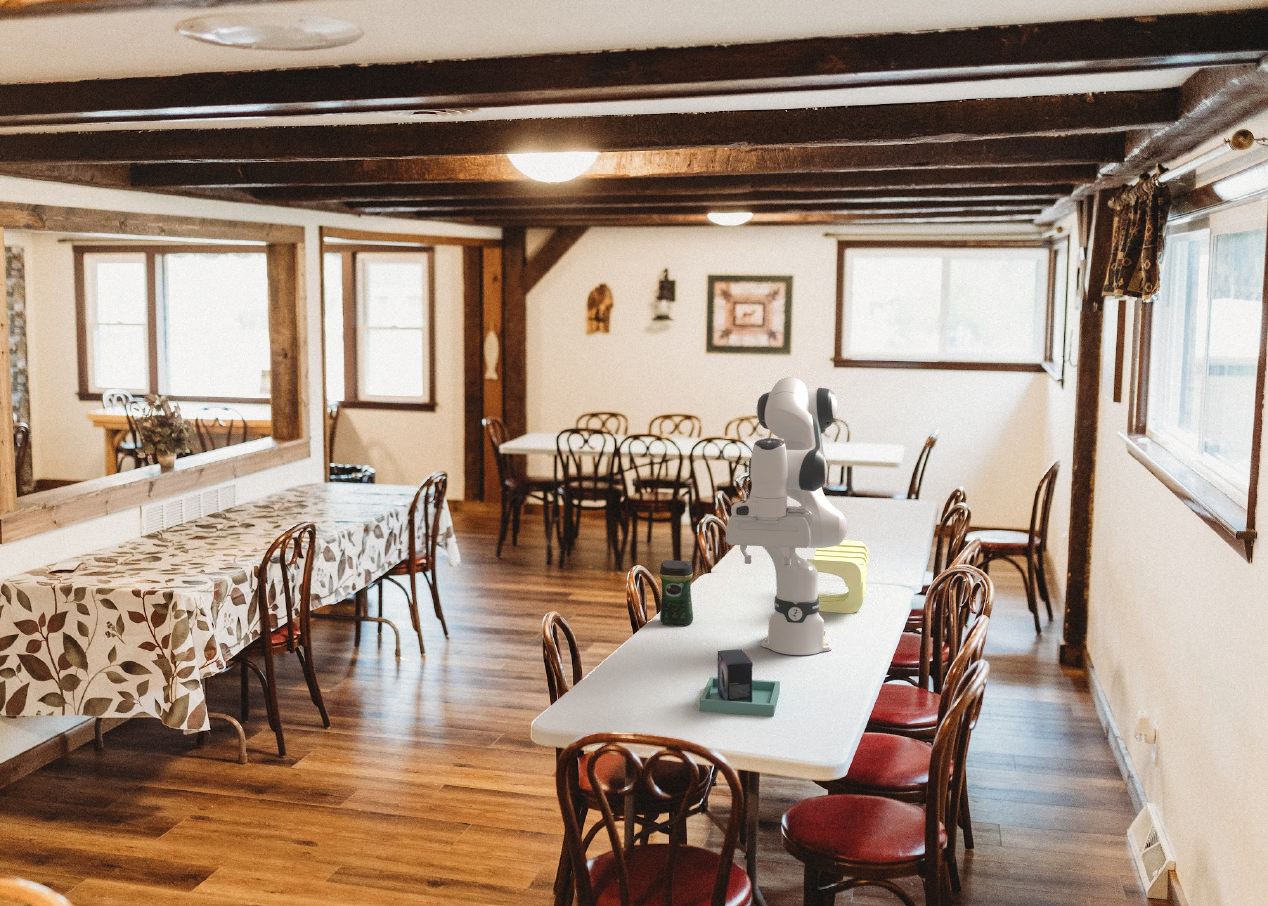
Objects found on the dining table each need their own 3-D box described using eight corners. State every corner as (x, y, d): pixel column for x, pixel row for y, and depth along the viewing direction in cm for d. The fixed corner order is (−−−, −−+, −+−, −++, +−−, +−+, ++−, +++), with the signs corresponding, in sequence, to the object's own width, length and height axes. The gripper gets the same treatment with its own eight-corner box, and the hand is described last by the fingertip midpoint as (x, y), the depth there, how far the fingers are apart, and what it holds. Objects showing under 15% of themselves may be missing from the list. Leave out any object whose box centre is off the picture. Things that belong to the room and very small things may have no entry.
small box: (715, 691, 281) (715, 649, 279) (741, 690, 282) (742, 648, 280) (725, 707, 270) (726, 663, 269) (753, 705, 271) (754, 661, 270)
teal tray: (709, 687, 286) (709, 676, 285) (779, 691, 282) (779, 681, 282) (699, 711, 269) (699, 700, 269) (773, 716, 266) (773, 705, 266)
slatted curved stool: (859, 621, 344) (861, 562, 342) (805, 617, 348) (806, 559, 346) (867, 596, 373) (868, 541, 370) (816, 593, 377) (818, 538, 374)
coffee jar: (695, 620, 345) (695, 558, 342) (689, 627, 337) (690, 564, 335) (663, 618, 347) (663, 557, 345) (657, 625, 340) (657, 562, 337)
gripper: (813, 506, 280) (812, 563, 281) (728, 503, 284) (727, 559, 285) (811, 511, 273) (810, 569, 275) (724, 508, 277) (724, 565, 279)
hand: (767, 564), depth 280 cm, fingers open, 8 cm apart
